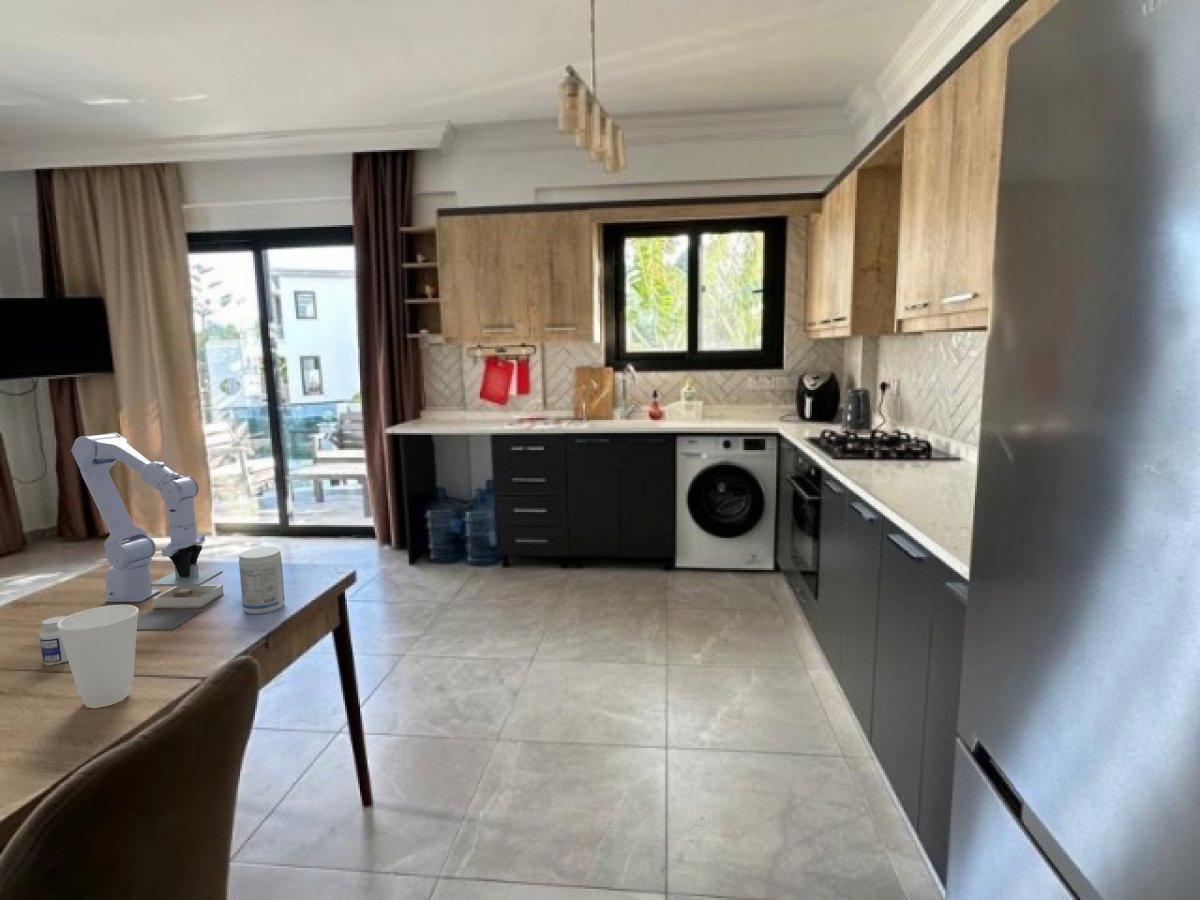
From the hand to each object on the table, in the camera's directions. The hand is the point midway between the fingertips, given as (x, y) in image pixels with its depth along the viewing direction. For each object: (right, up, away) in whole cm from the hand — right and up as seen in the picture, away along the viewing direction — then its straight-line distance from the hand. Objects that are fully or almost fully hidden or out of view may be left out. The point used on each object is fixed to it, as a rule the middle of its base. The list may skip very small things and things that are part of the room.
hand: (187, 575), depth 168 cm
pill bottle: (-6, -12, -33) cm, 35 cm away
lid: (0, -1, 0) cm, 1 cm away
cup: (+16, -14, -49) cm, 53 cm away
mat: (+1, -9, -12) cm, 15 cm away
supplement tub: (+22, -8, -4) cm, 24 cm away
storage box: (0, -7, +1) cm, 7 cm away
